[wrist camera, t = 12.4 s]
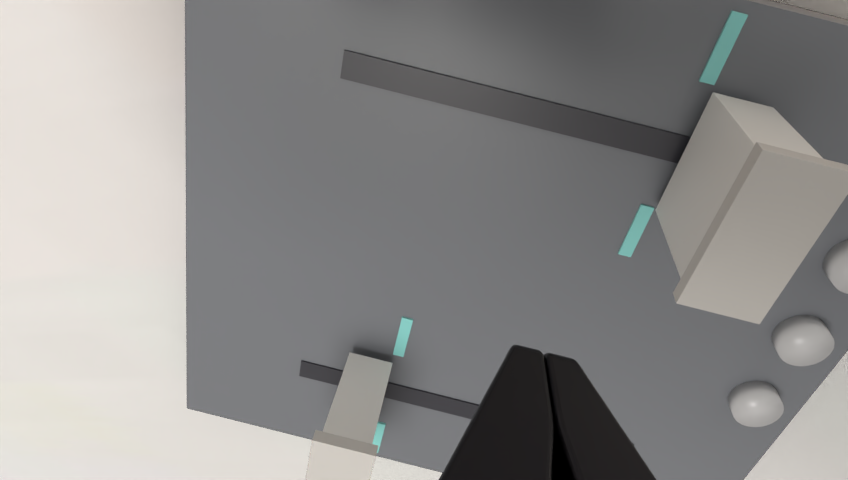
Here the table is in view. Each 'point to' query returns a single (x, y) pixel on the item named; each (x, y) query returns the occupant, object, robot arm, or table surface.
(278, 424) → the console
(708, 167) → the fader
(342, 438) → the fader
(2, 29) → the table surface
